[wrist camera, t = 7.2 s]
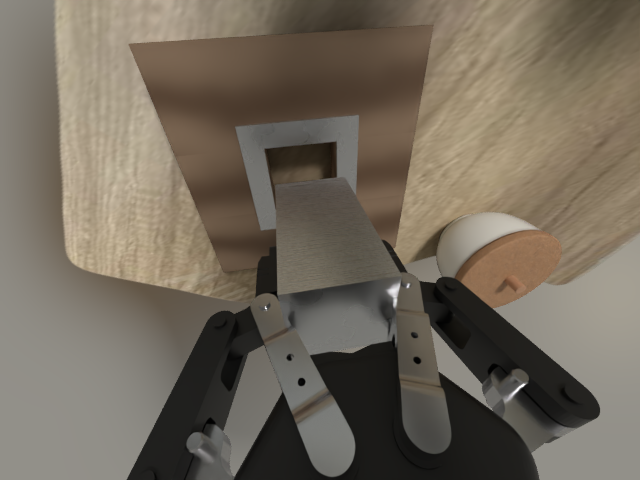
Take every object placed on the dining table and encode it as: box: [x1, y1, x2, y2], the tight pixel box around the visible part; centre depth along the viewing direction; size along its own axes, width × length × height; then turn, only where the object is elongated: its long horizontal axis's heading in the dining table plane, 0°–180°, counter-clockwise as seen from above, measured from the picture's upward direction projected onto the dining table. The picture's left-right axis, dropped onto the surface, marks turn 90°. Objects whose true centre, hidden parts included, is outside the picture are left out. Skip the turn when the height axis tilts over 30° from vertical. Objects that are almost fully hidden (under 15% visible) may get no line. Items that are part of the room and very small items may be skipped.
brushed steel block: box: [275, 177, 402, 355], centre depth 15 cm, size 5×5×10 cm
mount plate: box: [129, 25, 433, 272], centre depth 25 cm, size 22×22×3 cm
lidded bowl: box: [436, 212, 562, 308], centre depth 32 cm, size 13×13×11 cm
